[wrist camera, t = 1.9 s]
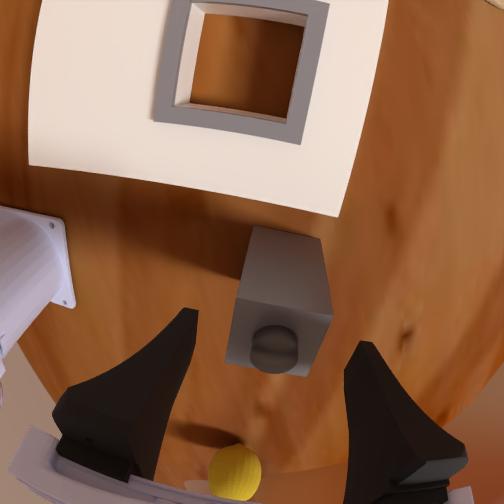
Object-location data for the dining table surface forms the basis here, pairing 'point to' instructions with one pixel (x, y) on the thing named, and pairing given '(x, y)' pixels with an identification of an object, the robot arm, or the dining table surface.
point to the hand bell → (497, 3)
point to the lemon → (234, 473)
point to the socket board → (196, 115)
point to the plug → (280, 304)
